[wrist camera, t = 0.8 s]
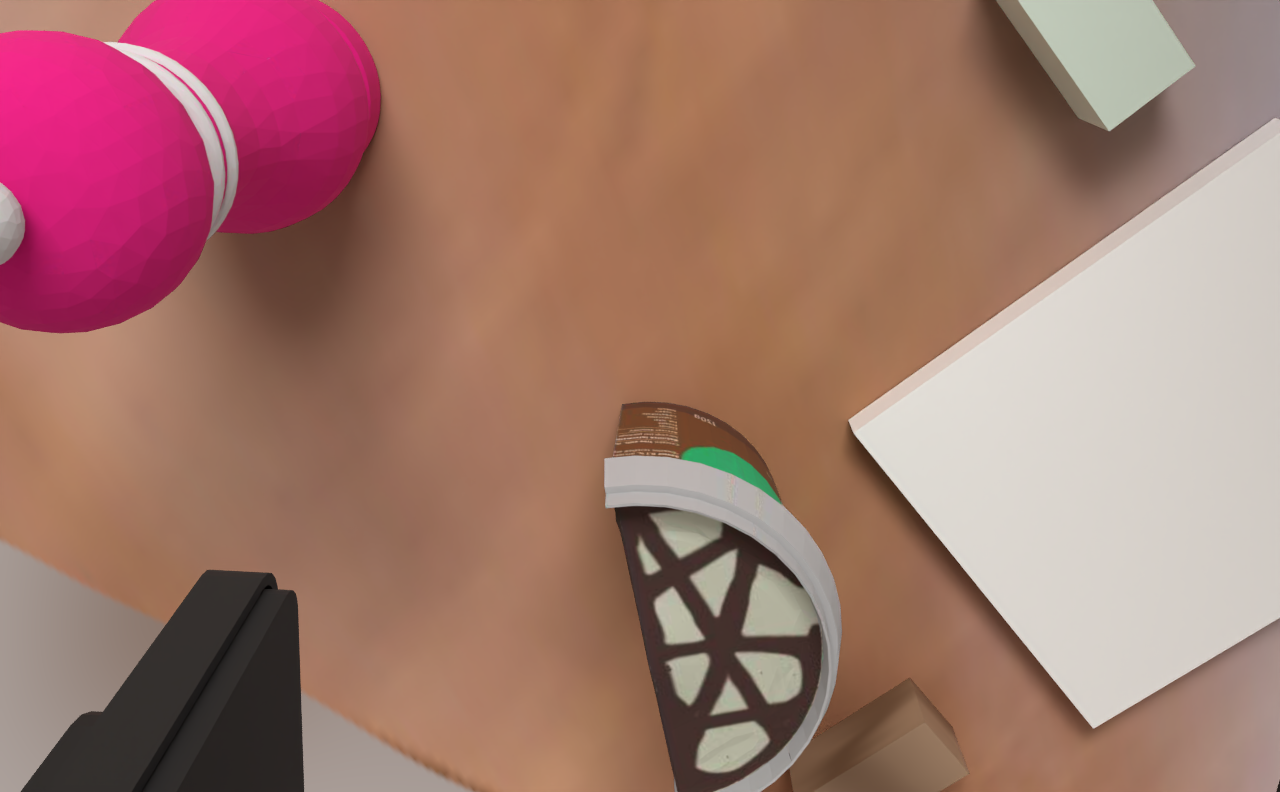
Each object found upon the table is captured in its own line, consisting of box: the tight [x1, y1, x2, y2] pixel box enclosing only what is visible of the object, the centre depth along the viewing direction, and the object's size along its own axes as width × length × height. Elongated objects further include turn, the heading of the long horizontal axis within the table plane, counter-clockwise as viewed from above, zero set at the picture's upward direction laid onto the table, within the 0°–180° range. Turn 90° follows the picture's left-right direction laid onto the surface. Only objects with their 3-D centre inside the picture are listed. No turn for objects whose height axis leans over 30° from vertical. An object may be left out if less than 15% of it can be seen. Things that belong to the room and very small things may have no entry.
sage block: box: [996, 0, 1195, 131], centre depth 36 cm, size 6×3×3 cm, turn 40°
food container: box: [604, 402, 842, 792], centre depth 39 cm, size 12×6×10 cm, turn 11°
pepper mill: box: [0, 0, 381, 333], centre depth 29 cm, size 7×7×20 cm
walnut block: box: [789, 678, 970, 792], centre depth 46 cm, size 6×3×3 cm, turn 129°
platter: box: [848, 118, 1280, 729], centre depth 42 cm, size 17×16×1 cm
